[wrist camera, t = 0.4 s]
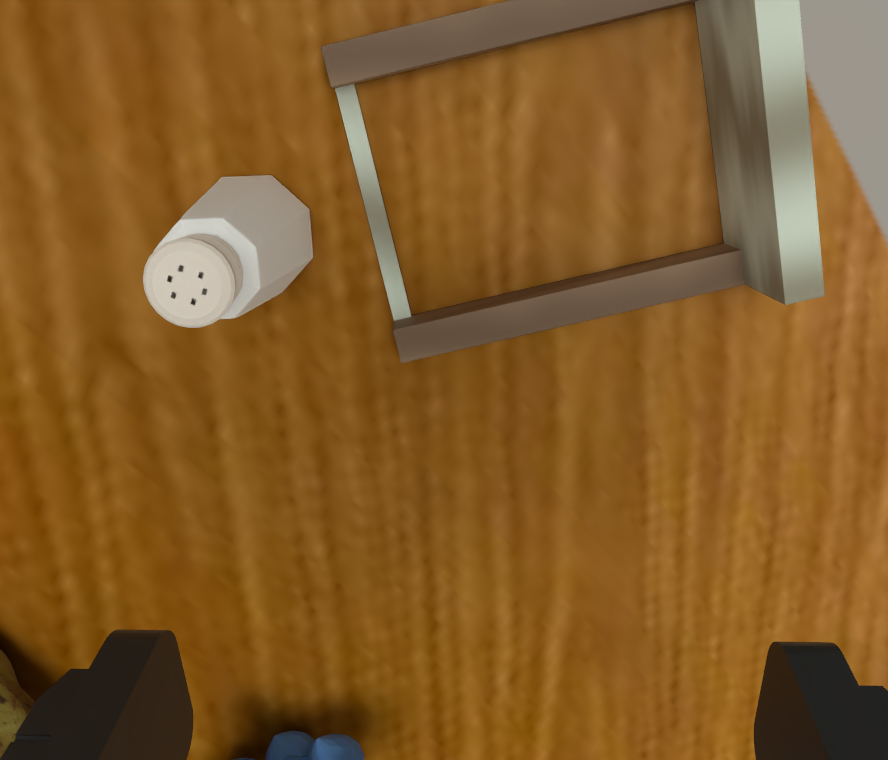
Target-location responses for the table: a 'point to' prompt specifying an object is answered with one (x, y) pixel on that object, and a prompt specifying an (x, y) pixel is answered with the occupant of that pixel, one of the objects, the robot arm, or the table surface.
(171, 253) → the salt shaker
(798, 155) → the frame
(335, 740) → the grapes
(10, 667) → the potato
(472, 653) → the table surface
